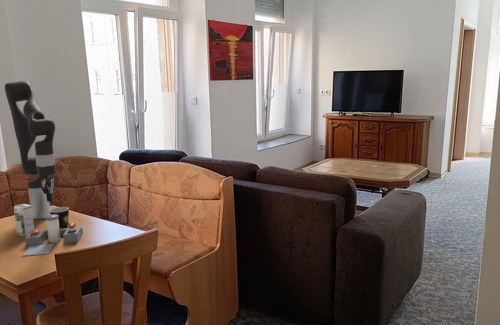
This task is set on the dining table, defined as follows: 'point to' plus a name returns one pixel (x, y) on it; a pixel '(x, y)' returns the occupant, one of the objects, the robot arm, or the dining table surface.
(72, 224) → the right plunger
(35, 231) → the left plunger
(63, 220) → the coffee mug
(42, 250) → the mat
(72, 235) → the housing
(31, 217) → the syrup box
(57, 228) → the cylinder
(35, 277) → the dining table surface
